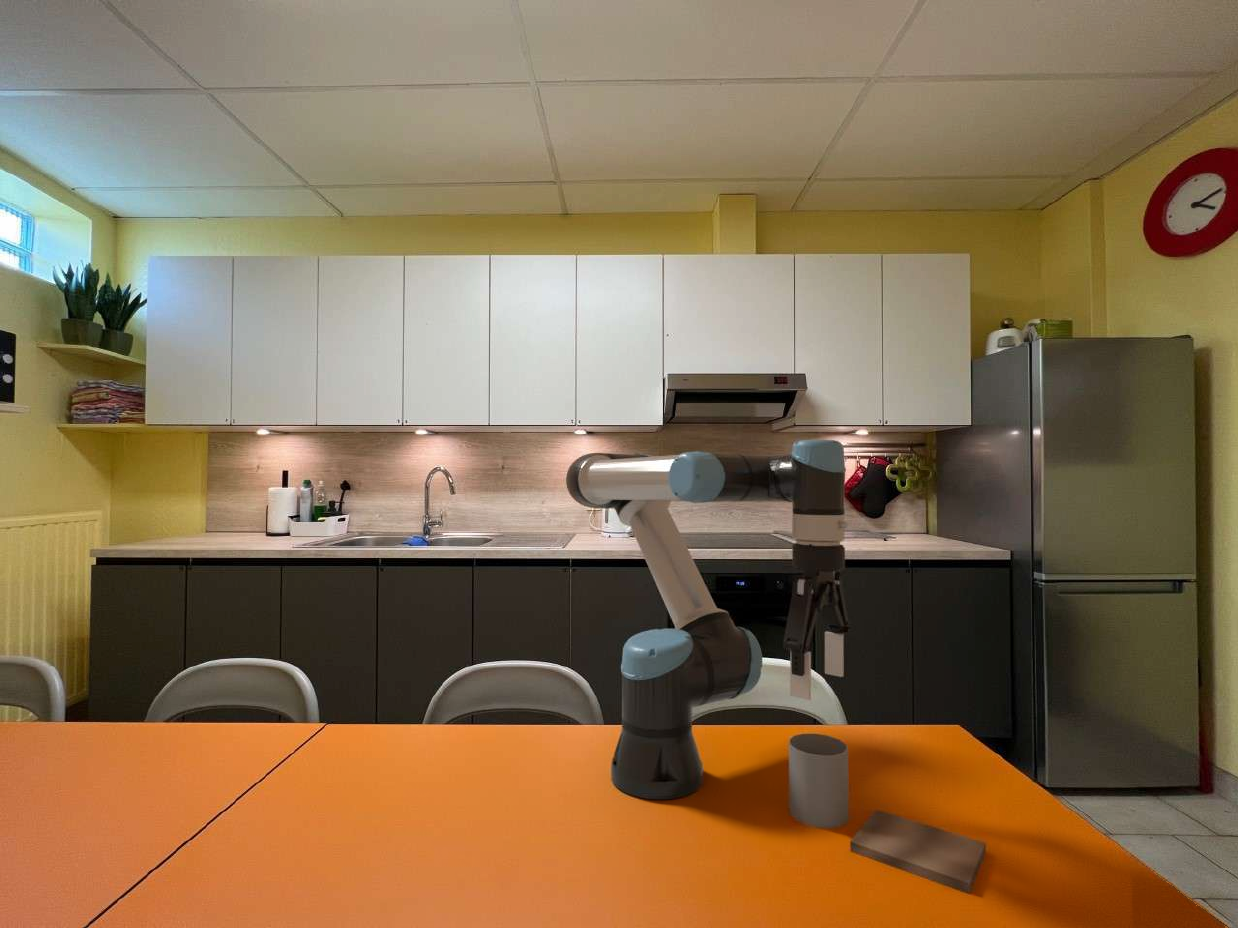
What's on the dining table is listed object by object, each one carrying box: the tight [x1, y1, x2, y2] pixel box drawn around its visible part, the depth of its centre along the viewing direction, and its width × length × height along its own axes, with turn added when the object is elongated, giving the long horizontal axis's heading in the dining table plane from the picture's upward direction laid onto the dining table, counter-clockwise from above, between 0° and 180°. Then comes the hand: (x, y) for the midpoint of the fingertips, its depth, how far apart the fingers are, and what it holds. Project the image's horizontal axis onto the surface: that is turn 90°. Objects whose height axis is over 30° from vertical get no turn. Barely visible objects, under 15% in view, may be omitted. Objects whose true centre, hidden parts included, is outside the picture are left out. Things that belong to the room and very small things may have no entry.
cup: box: [788, 733, 850, 829], centre depth 93 cm, size 8×8×10 cm
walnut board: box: [849, 809, 987, 894], centre depth 83 cm, size 14×11×1 cm
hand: (818, 685), depth 94 cm, fingers open, 13 cm apart
